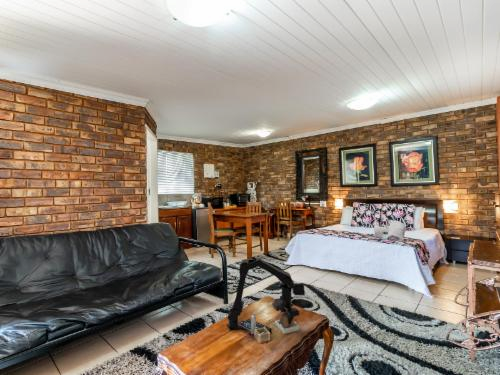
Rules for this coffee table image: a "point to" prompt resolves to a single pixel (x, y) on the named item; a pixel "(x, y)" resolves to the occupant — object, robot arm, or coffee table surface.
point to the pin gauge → (253, 323)
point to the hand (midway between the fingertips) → (286, 321)
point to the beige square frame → (262, 335)
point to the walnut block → (285, 320)
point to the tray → (287, 329)
